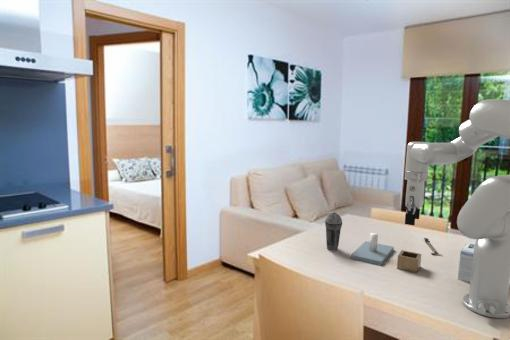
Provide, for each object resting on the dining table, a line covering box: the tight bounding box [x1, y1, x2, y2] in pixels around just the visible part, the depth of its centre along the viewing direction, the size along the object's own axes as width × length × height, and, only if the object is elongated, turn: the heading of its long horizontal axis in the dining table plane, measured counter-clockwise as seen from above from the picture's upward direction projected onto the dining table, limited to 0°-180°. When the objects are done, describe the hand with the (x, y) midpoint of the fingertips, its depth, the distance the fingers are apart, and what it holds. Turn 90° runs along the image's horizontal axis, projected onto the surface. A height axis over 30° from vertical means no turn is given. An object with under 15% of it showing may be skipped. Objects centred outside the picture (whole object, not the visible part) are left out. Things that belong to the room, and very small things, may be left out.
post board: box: [350, 232, 394, 266], centre depth 149 cm, size 20×12×8 cm, turn 147°
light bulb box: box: [457, 242, 475, 283], centre depth 128 cm, size 11×7×11 cm, turn 141°
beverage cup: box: [324, 202, 343, 252], centre depth 153 cm, size 7×7×20 cm
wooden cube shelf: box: [396, 249, 422, 274], centre depth 136 cm, size 7×7×5 cm
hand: (412, 221), depth 134 cm, fingers open, 9 cm apart
